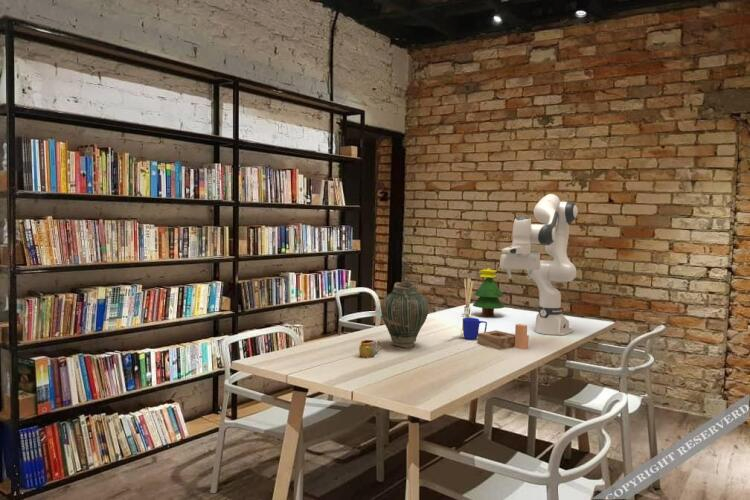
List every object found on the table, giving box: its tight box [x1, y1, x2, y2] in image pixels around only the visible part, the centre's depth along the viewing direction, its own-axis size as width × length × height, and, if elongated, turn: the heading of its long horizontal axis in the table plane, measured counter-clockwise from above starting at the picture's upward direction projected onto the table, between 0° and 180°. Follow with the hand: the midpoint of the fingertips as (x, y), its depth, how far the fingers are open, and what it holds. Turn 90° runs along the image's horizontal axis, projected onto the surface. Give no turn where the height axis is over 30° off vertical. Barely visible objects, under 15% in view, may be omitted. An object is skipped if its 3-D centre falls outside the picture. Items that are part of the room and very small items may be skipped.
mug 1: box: [358, 339, 382, 359], centre depth 248 cm, size 12×7×7 cm, turn 133°
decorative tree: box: [472, 267, 505, 318], centre depth 350 cm, size 19×19×30 cm
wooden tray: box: [476, 330, 515, 351], centre depth 274 cm, size 14×14×5 cm
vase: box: [380, 281, 430, 349], centre depth 266 cm, size 22×22×30 cm
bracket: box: [514, 323, 530, 350], centre depth 269 cm, size 4×4×11 cm
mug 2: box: [462, 317, 488, 341], centre depth 285 cm, size 8×12×10 cm
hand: (519, 278), depth 273 cm, fingers open, 8 cm apart
